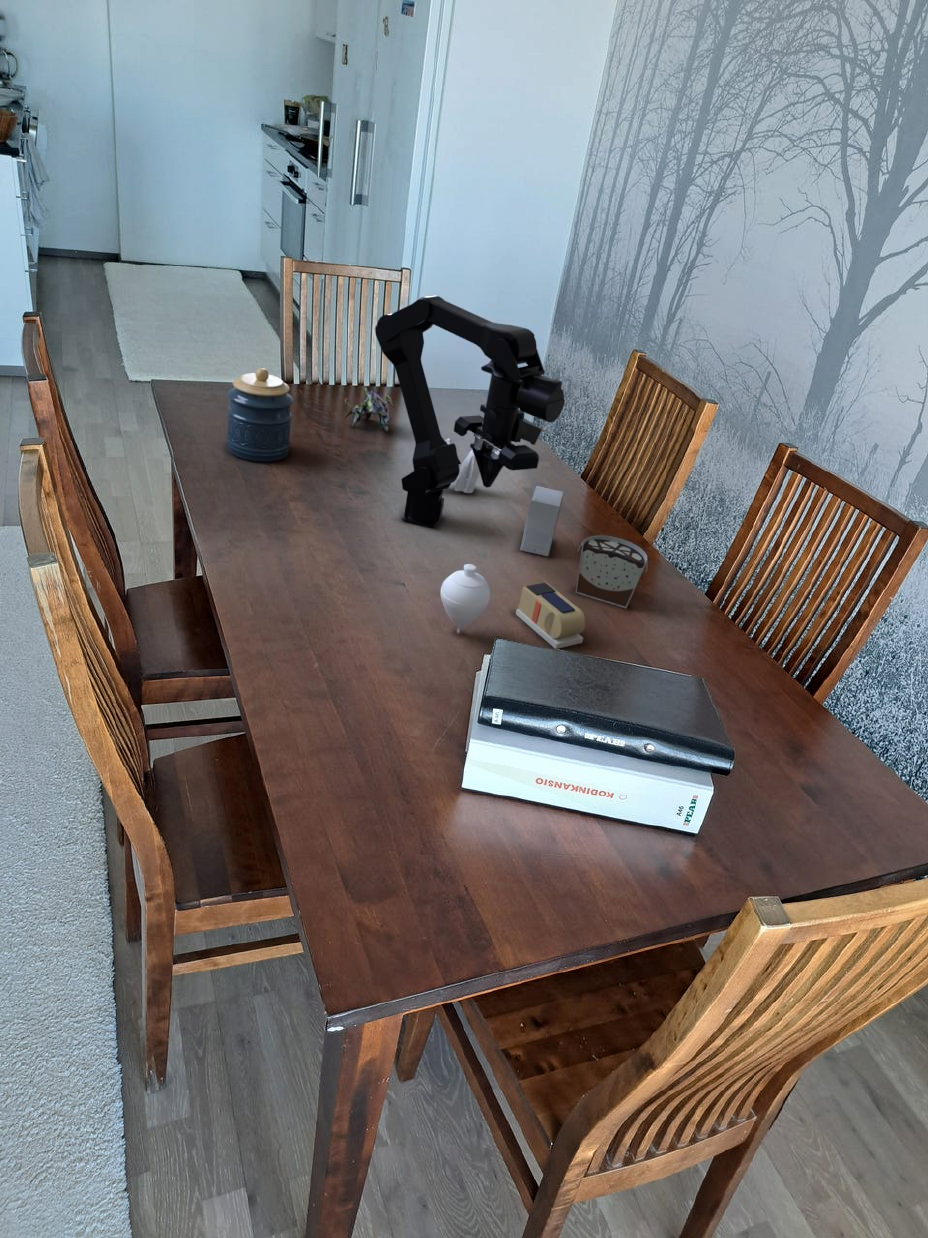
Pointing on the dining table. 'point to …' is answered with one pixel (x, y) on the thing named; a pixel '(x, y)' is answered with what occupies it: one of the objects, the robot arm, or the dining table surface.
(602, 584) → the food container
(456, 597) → the spinning top
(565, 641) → the cream two-tone block
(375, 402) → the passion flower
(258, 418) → the canister
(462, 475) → the shaker set
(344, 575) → the dining table surface
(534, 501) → the small box
